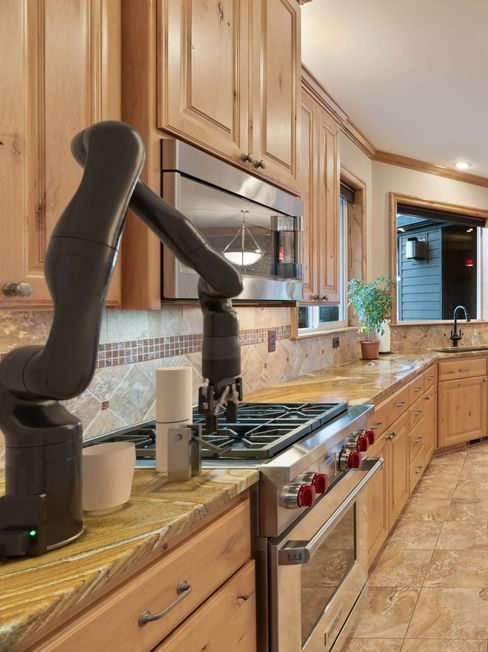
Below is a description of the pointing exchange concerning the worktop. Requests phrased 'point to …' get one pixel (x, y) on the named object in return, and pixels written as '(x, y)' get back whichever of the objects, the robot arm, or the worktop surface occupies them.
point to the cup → (107, 474)
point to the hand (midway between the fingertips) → (222, 427)
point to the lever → (209, 445)
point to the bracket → (184, 453)
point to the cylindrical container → (171, 407)
